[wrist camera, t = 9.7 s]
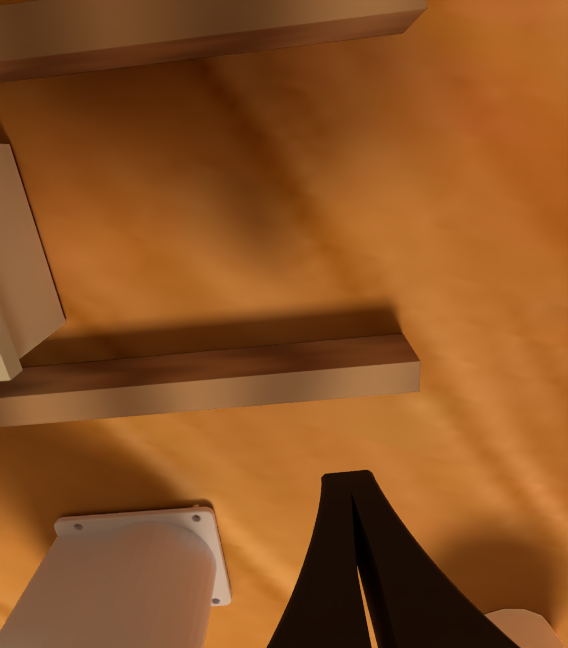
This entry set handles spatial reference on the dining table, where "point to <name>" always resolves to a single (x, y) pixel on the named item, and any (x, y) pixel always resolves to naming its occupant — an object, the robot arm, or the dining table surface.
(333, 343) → the bay
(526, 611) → the foam cup
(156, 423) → the dining table surface
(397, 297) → the dining table surface
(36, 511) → the dining table surface
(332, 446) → the dining table surface
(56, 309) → the beige square block
